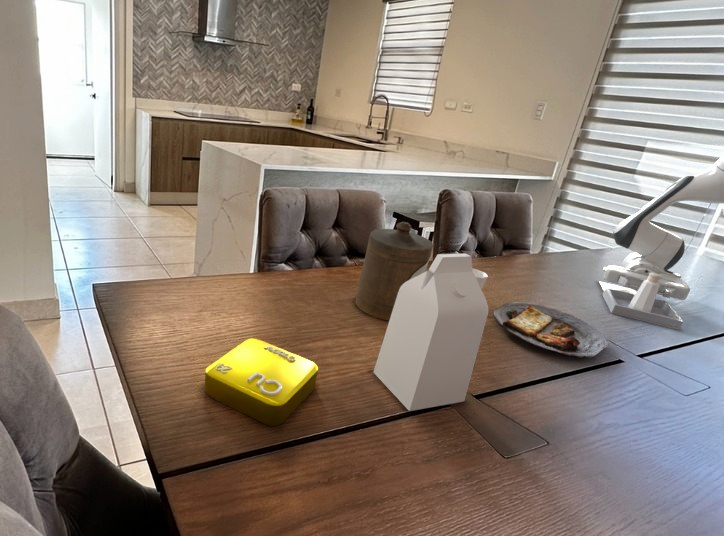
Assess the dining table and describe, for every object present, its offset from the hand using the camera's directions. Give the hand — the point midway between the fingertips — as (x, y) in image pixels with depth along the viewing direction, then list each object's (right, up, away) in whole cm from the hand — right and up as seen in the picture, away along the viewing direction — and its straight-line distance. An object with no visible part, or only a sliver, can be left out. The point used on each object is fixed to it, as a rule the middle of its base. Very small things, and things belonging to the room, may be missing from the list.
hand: (647, 289), depth 132 cm
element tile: (-107, -16, -51) cm, 120 cm away
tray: (-1, -6, +2) cm, 6 cm away
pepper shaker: (-1, -6, +2) cm, 6 cm away
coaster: (+3, -1, +15) cm, 15 cm away
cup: (-52, -2, -4) cm, 53 cm away
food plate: (-40, -11, -19) cm, 45 cm away
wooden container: (-78, -4, -15) cm, 79 cm away
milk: (-79, -17, -45) cm, 92 cm away
